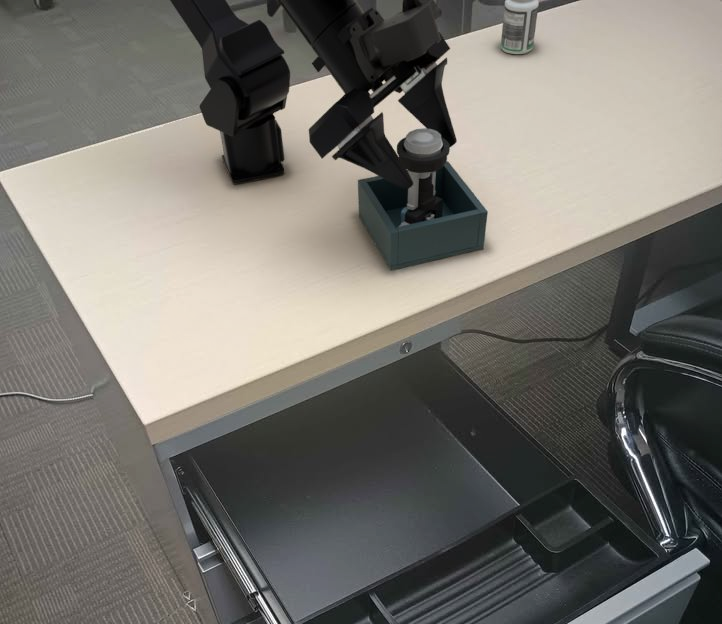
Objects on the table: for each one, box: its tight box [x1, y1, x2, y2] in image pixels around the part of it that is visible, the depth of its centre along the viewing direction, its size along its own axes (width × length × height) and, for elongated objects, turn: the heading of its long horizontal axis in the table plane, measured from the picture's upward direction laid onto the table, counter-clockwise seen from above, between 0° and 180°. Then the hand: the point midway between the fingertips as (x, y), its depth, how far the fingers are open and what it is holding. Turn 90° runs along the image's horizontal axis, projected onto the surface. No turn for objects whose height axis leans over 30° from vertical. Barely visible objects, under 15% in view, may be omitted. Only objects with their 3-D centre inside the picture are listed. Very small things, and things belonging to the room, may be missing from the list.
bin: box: [357, 160, 489, 271], centre depth 82 cm, size 11×11×4 cm
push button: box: [396, 127, 451, 227], centre depth 80 cm, size 7×5×10 cm
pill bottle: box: [500, 0, 540, 55], centre depth 109 cm, size 5×5×8 cm
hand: (432, 165), depth 77 cm, fingers open, 9 cm apart
